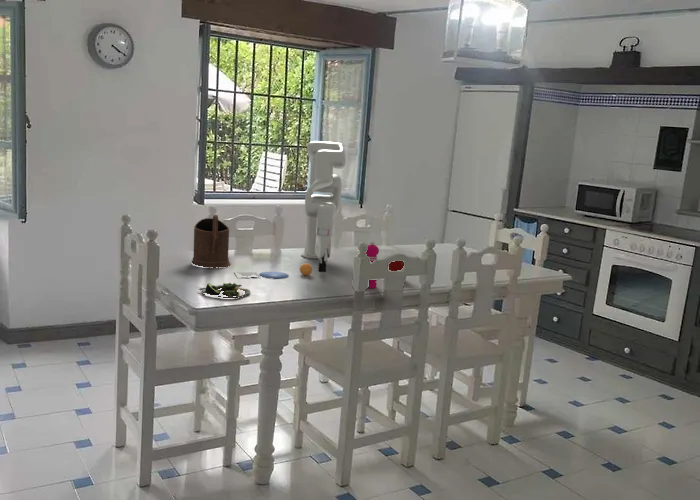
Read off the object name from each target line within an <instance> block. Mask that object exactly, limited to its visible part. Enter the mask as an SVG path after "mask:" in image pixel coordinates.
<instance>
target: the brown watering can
mask: <svg viewBox="0 0 700 500" xmlns="http://www.w3.org/2000/svg"><path fill="white" fill-rule="evenodd" d="M229 237H230V227H229V226H228V225H227V224H225V223H224V222H222V221H221V220H220V219H219V215H218V214H213V217H210V218H209V217H208V218H202V219H200V220H199V221H197V222H196V223H195V225H194V227H193V257H192V260H191V262H192V263H193V264H195V265H198V266H203V267H213V268H216V267H218V268H219V267H226V268H229V267H231V266H232V264H231V262H230V260H229V246H230V245H229V242H230V241H229V240H230V238H229ZM230 265H231V266H230ZM228 266H229V267H228Z"/></svg>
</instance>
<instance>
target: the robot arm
mask: <svg viewBox="0 0 700 500" xmlns="http://www.w3.org/2000/svg"><path fill="white" fill-rule="evenodd" d="M306 150H307V155H308V158H309V161H310V170H309V171H310V172H309V173H310V174H309V187H308V189H307V190H306V193H305V196H304V214H305V215H306V216H305V235H304V251H303V252H300V253H301V254H300V256H301V257H303V258H307V259H312V260H313V259H318V272H319V273H326V272H327V263H328V259H330V257H331V254H332V252H331V251H332V237H333V234H334V220H335V219H334V218H335V216H336V215H337V214H339V213H340V209H341V201H342V200H341V197H342V186H343V183H342V178H341V176H340V175H338V174H334V169H337V170H338V169H344V168H345V166H346V163H347V162H346V161H347V160H346V159H347V156H346V151H345V148H344V144H342V143H341V142H336V141H335V142H334V141H321V140H313V141H310V142H308V144H307V147H306ZM314 193H320V194H314ZM321 193H322V194H321ZM328 194H329V195H328ZM330 194H331V195H330Z"/></svg>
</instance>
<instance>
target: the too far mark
mask: <svg viewBox="0 0 700 500" xmlns="http://www.w3.org/2000/svg"><path fill="white" fill-rule="evenodd" d="M238 273H239V274H241V275H242V276H247V277H248V276H251V275H253V274H254V275H256V276H258V277H257V278H256V279H260V278H261V276H260V275H259V274H258V273H257V271H256V272H255V271H254V272H253V271H252V272H247V271H246V272H245V271H244V272H241V271H240V272H238ZM259 277H260V278H259Z"/></svg>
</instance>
